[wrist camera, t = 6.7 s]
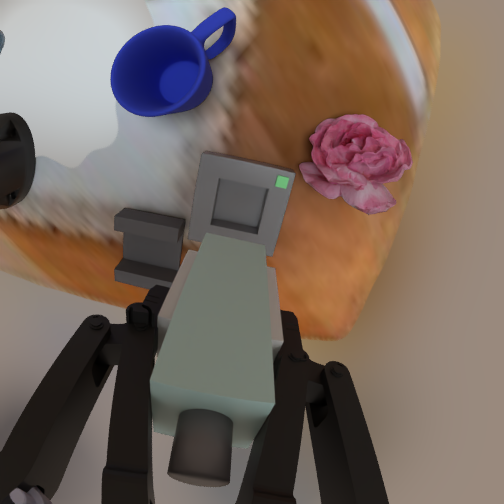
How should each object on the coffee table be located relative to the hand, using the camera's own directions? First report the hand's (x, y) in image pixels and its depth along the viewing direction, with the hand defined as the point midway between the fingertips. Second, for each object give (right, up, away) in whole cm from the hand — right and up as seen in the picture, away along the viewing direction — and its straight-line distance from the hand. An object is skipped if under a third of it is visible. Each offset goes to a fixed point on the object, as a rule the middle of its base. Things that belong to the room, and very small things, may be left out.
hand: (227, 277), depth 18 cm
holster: (-11, +3, +17) cm, 21 cm away
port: (0, +8, +15) cm, 17 cm away
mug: (-5, +22, +8) cm, 24 cm away
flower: (+12, +13, +12) cm, 22 cm away
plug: (0, +1, +2) cm, 2 cm away
